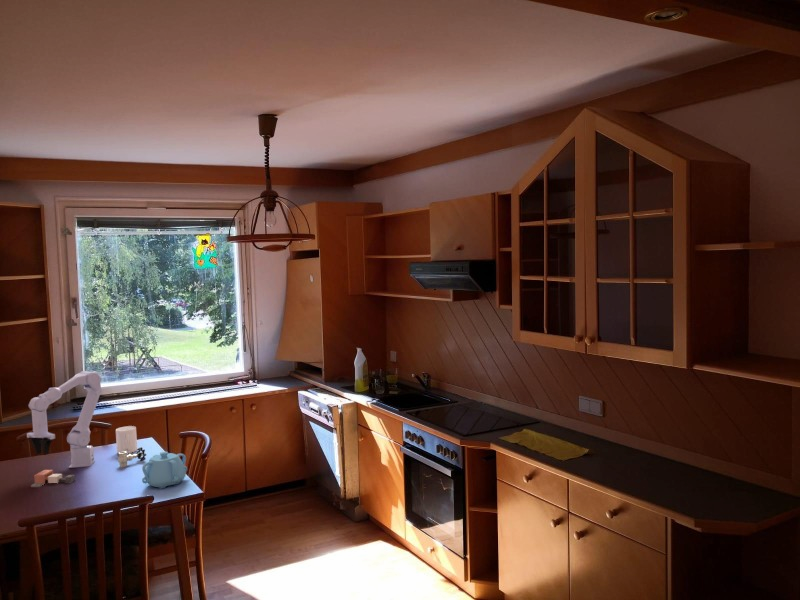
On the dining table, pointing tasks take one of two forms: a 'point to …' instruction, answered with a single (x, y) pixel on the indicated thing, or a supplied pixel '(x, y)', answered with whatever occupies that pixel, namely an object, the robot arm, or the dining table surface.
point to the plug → (60, 478)
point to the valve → (130, 457)
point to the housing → (41, 478)
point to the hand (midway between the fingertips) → (42, 454)
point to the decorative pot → (164, 470)
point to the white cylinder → (126, 439)
